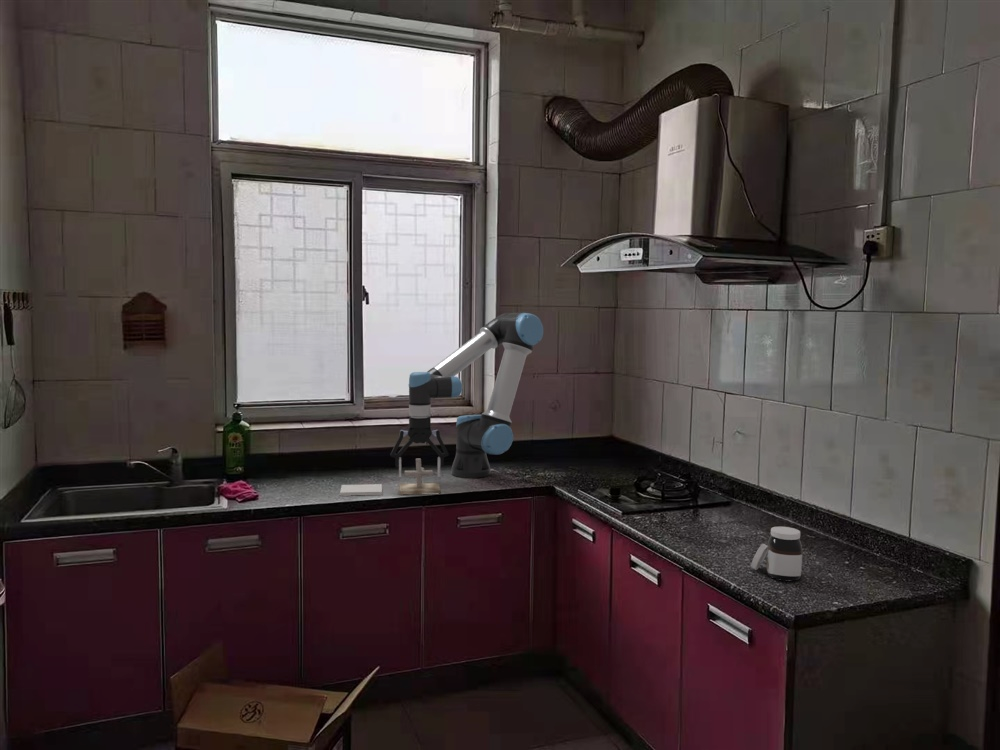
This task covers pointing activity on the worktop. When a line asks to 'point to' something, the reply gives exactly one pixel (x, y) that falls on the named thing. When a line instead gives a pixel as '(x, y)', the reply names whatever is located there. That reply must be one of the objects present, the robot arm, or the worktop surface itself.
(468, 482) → the worktop surface
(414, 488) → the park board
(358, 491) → the tile
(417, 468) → the pipe connector
